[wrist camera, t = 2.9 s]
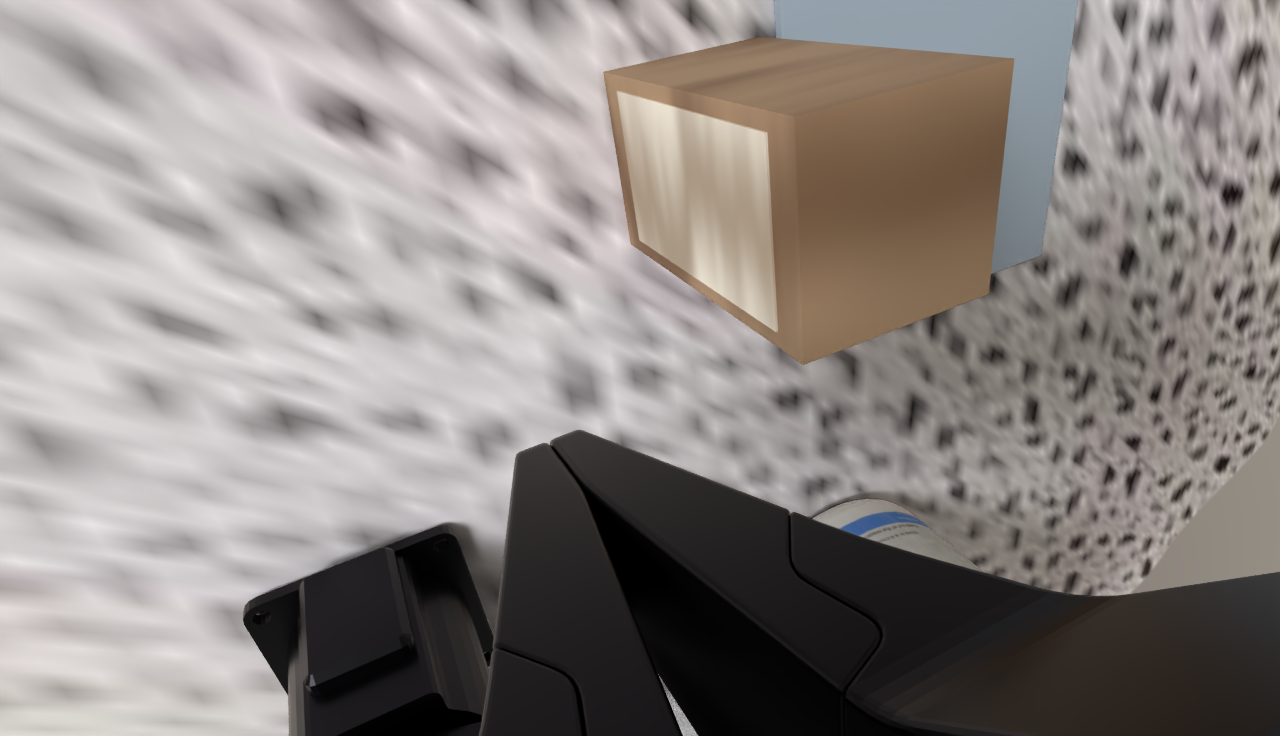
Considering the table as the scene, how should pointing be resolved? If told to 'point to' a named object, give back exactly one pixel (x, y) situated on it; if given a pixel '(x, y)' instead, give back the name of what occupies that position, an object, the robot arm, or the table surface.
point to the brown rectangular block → (816, 181)
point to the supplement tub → (892, 529)
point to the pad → (987, 26)
